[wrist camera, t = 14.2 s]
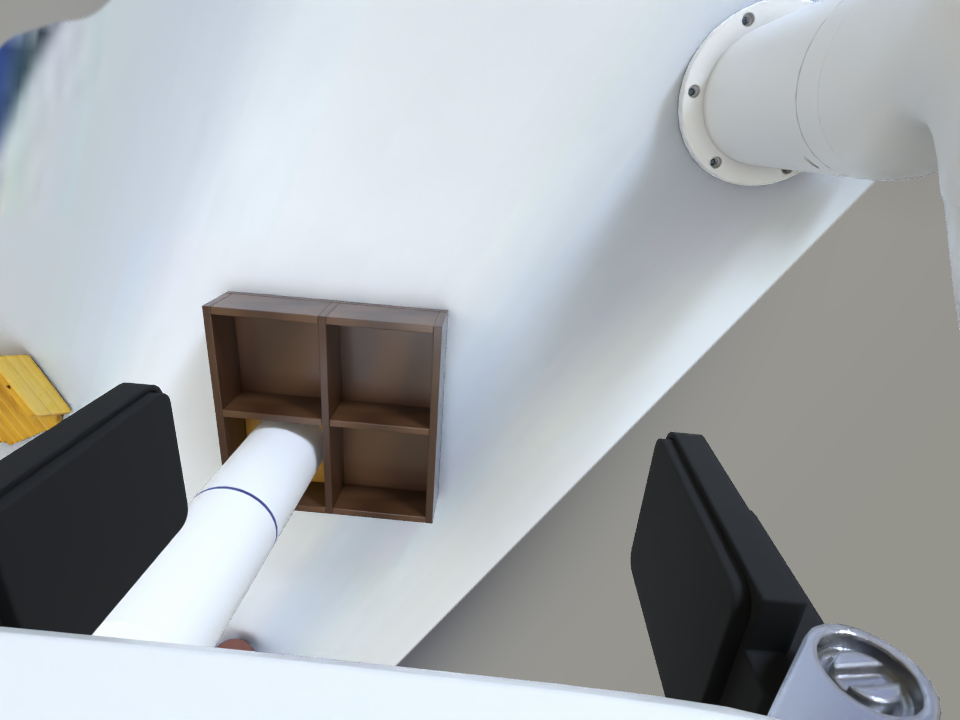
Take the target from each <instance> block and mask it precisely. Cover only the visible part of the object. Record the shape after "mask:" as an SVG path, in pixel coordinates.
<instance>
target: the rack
mask: <svg viewBox="0 0 960 720" xmlns="http://www.w3.org/2000/svg"><path fill="white" fill-rule="evenodd" d="M202 309H203V317H204V325H205V333H206V341H207V349H208V357H209V365H210V373H211V381H212V389H213V397H214V405H215V413H216V421H217V428H218V436H219V444H220V452H221V460H222V465H223V464H224V463H225V462H226V461H227V460H228V459H229V457H230V456H231V455H232V454H233V453H234V452H235V451H236V450H237V448H238V447H239V446H240V445H241V444H242V443H243V441H244V440H245V439H246V438H247V437H248V436H249V435H250V433H251V432H252V431H253V430H254V429H255V428H256V426H257V425H258V424H259V423H260V422H261V421H262V420H266V421H277V422H287V423H298V424H309V425H319V426H320V428H321V429H322V436H323V461H322V463H321V464H320V466H319V468H318V470H317V471H316V473H315V475H314V477H313V478H312V480H311V482H310V483H309V485H308V487H307V489H306V490H305V492H304V494H303V496H302V497H301V499H300V501H299V503H298V504H297V506H296V508H295V509H294V510H297V511H307V512H318V513H329V514H340V515H350V516H361V517H371V518H382V519H392V520H403V521H413V522H423V523H432V522H433V518H434V513H435V508H436V503H437V497H438V488H439V470H440V451H441V433H442V414H443V396H444V378H445V359H446V341H447V322H448V311H447V310H435V309H424V308H412V307H401V306H390V305H378V304H367V303H355V302H344V301H332V300H321V299H310V298H298V297H287V296H275V295H264V294H252V293H241V292H230V291H228V292H226V293H225V294H223V295H221V296H219V297H217V298H216V299H214V300H212V301H210V302H208V303H207V304H205V305H203V306H202Z"/></svg>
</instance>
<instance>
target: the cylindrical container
mask: <svg viewBox="0 0 960 720" xmlns="http://www.w3.org/2000/svg"><path fill="white" fill-rule="evenodd" d="M322 461H323V436H322V429H321V428H320V426H319V425H309V424H298V423H287V422H277V421H266V420H262V421H261V422H260V423H259V424H258V425H257V426H256V428H255V429H254V430H253V431H252V432H251V433H250V435H249V436H248V437H247V438H246V439H245V440H244V441H243V443H242V444H241V445H240V446H239V447H238V448H237V450H236V451H235V452H234V453H233V454H232V455H231V456H230V457H229V459H228V460H227V461H226V462H225V463H224V464H223V465H222V467H221V468H220V469H219V470H218V471H217V472H216V473H215V474H214V476H213V477H212V478H211V479H210V480H209V481H208V482H207V484H206V485H205V486H204V487H203V488H202V489H201V490H200V492H199V493H198V494H197V495H196V496H195V497H194V498H193V499H192V501H191V502H190V503H189V504H188V515H187V519H186V522H185V524H184V526H183V527H182V528H181V530H180V531H179V532H178V533H177V534H176V536H175V537H174V538H173V539H172V540H171V542H170V543H169V544H168V545H167V546H166V547H165V549H164V550H163V551H162V552H161V553H160V555H159V556H158V557H157V558H156V559H155V561H154V562H153V563H152V564H151V565H150V566H149V568H148V569H147V570H146V571H145V572H144V574H143V575H142V576H141V577H140V578H139V580H138V581H137V582H136V583H135V584H134V586H133V587H132V588H131V589H130V590H129V591H128V593H127V594H126V595H125V596H124V597H123V599H122V600H121V601H120V602H119V603H118V605H117V606H116V607H115V608H114V609H113V610H112V612H111V613H110V614H109V615H108V616H107V618H106V619H105V620H104V621H103V622H102V624H101V625H100V626H99V627H98V628H97V629H96V631H95V632H94V633H93V634H92V635H94V636H104V637H115V638H125V639H135V640H145V641H156V642H166V643H176V644H186V645H196V646H206V647H215V646H216V644H217V642H218V640H219V639H220V637H221V635H222V634H223V632H224V630H225V628H226V627H227V625H228V623H229V622H230V620H231V618H232V616H233V615H234V613H235V611H236V609H237V608H238V606H239V604H240V603H241V601H242V599H243V597H244V596H245V594H246V592H247V591H248V589H249V587H250V585H251V584H252V582H253V580H254V578H255V577H256V575H257V573H258V572H259V570H260V568H261V566H262V565H263V563H264V561H265V559H266V558H267V556H268V554H269V553H270V551H271V549H272V547H273V546H274V544H275V542H276V541H277V539H278V537H279V535H280V534H281V532H282V530H283V528H284V527H285V525H286V523H287V522H288V520H289V518H290V516H291V515H292V513H293V511H294V509H295V508H296V506H297V504H298V503H299V501H300V499H301V497H302V496H303V494H304V492H305V490H306V489H307V487H308V485H309V483H310V482H311V480H312V478H313V477H314V475H315V473H316V471H317V470H318V468H319V466H320V464H321V463H322Z"/></svg>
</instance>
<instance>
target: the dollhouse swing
mask: <svg viewBox="0 0 960 720" xmlns="http://www.w3.org/2000/svg"><path fill="white" fill-rule="evenodd" d="M70 412H71V410H70V408H69V407H68V405H67V404H66V403H65V401H64V400H63V399H62V397H61V396H60V395H59V393H58V392H57V391H56V390H55V388H54V387H53V386H52V384H51V383H50V382H49V380H48V379H47V378H46V376H45V375H44V374H43V373H42V371H41V370H40V368H39V367H38V366H37V365H36V364H35V362H34V361H33V360H32V358H31V357H30V356H29V355H7V356H0V443H1V442H5V443H8V444H9V445H12V444H14V443H16V442H19V441H22V440H24V439H26V438H29V437H31V436H34V435H36V434H39V433H41V432H44V431H46V430H48V429H50V428H52V427H53V426H55V425H57V424H58V423H60V422H61V421H62V415H65V414H68V413H70Z"/></svg>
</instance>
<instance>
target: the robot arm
mask: <svg viewBox="0 0 960 720" xmlns="http://www.w3.org/2000/svg"><path fill="white" fill-rule="evenodd" d="M743 18H745V19H746V20H747V23H746V25H743V24H742V19H743ZM690 88H691V89H693V90H694V93H693V95H692V96H690V95H689V94H688V91H689V89H690ZM678 117H679V126H680V131H681V134H682V137H683V140H684V144H685V146H686V147H687V149H688V151H689V153H690V154H691V156H692V158H693V159H694V160H695V161H696V162H697V163H698V164H699V166H700V167H701V168H702V169H704V170H705V171H706V172H708V173H709V174H711V175H712V176H714V177H716V178H718V179H720V180H723V181H725V182H728V183H733V184H737V185H745V186H761V185H769V184H773V183H776V182H780V181H783V180H786V179H788V178H790V177H792V176H794V175H796V174H798V173H800V172H809V173H817V174H825V175H833V176H841V177H848V178H856V179H867V180H876V181H898V180H906V179H912V178H917V177H922V176H926V175H929V174H932V173H935V172H939V181H940V190H941V196H942V198H943V199H944V205H945V216H946V226H947V235H948V244H949V255H950V264H951V274H952V283H953V290H954V298H955V306H956V314H957V319H958V324H959V329H960V0H820V1H818V2H816V3H814V2H812V1H810V0H765V1H761V2H757V3H755V4H753V5H751V6H749V7H746V8H744V9H742V10H740V11H738V12H737V13H735V14H734V15H732V16H730V17H729V18H727V19H726V20H725V21H724V22H722V23H721V24H720V25H719V26H718V27H716V28H715V29H714V30H713V31H712V32H711V33H710V34H709V36H708V37H707V38H706V39H705V40H704V41H703V42H702V44H701V45H700V46H699V48H698V50H697V51H696V53H695V54H694V56H693V58H692V59H691V61H690V63H689V66H688V68H687V70H686V73H685V75H684V78H683V81H682V86H681V90H680V94H679V105H678ZM712 159H715V163H714V165H711V164H710V161H711V160H712ZM782 169H784V170H783V171H782ZM187 515H188V504H187V498H186V492H185V486H184V480H183V474H182V468H181V462H180V456H179V450H178V444H177V438H176V432H175V426H174V420H173V414H172V408H171V402H170V399H169V397H168V395H166V394H164V393H162V391H161V389H160V388H159V387H158V386H156V385H147V384H135V383H122V384H120V385H118V386H116V387H115V388H113V389H112V390H110V391H108V392H107V393H105V394H104V395H102V396H101V397H99V398H97V399H96V400H94V401H93V402H91V403H90V404H88V405H86V406H85V407H83V408H82V409H80V410H79V411H77V412H75V413H74V414H72V415H71V416H69V417H68V418H66V419H64V420H63V421H61V422H60V423H58V424H57V425H55V426H53V427H52V428H50V429H49V430H47V431H46V432H44V433H42V434H41V435H39V436H38V437H36V438H35V439H33V440H31V441H30V442H28V443H27V444H25V445H24V446H22V447H20V448H19V449H17V450H16V451H14V452H13V453H11V454H9V455H8V456H6V457H5V458H3V459H2V460H0V720H940V717H941V708H940V699H939V697H938V695H937V693H936V691H935V689H934V687H933V685H932V683H931V681H930V680H929V679H928V678H927V677H926V675H925V674H924V673H923V672H922V671H921V670H920V668H919V667H918V666H917V665H916V664H915V663H914V662H913V661H911V660H910V659H909V658H908V657H907V656H905V655H904V654H903V653H902V652H901V651H900V650H898V649H897V648H895V647H893V646H892V645H890V644H888V643H887V642H885V641H884V640H882V639H880V638H879V637H877V636H874V635H872V634H870V633H867V632H865V631H863V630H860V629H858V628H854V627H850V626H846V625H842V624H824V623H823V621H822V619H821V618H820V616H819V614H818V613H817V611H816V610H815V608H814V607H813V605H812V603H811V602H810V600H809V599H808V597H807V595H806V594H805V593H804V591H803V589H802V588H801V586H800V584H799V583H798V581H797V580H796V578H795V576H794V575H793V573H792V572H791V570H790V569H789V567H788V565H787V564H786V562H785V561H784V559H783V557H782V556H781V554H780V553H779V551H778V550H777V548H776V546H775V545H774V544H773V542H772V540H771V539H770V537H769V535H768V534H767V532H766V531H765V529H764V527H763V526H762V524H761V523H760V521H759V520H758V518H757V516H756V515H755V514H754V513H753V512H752V511H751V510H749V508H748V507H747V505H746V504H745V502H744V501H743V499H742V497H741V496H740V494H739V492H738V491H737V489H736V488H735V486H734V485H733V483H732V481H731V480H730V478H729V476H728V475H727V473H726V472H725V470H724V469H723V467H722V465H721V464H720V462H719V461H718V459H717V457H716V456H715V454H714V452H713V451H712V449H711V448H710V446H709V444H708V443H707V441H706V440H705V438H704V437H703V436H702V435H697V434H686V433H675V432H670V433H669V434H668V435H667V437H666V439H658V440H657V442H656V445H655V448H654V453H653V457H652V462H651V466H650V471H649V475H648V479H647V484H646V488H645V493H644V497H643V502H642V506H641V510H640V515H639V519H638V524H637V528H636V532H635V537H634V541H633V546H632V551H631V570H632V574H633V578H634V582H635V585H636V589H637V593H638V596H639V600H640V604H641V608H642V611H643V615H644V619H645V622H646V626H647V630H648V634H649V637H650V641H651V645H652V649H653V652H654V656H655V660H656V664H657V667H658V671H659V675H660V679H661V682H662V686H663V690H664V694H665V697H659V696H652V695H645V694H638V693H630V692H621V691H612V690H604V689H594V688H585V687H577V686H570V685H562V684H554V683H545V682H536V681H527V680H517V679H509V678H499V677H489V676H480V675H471V674H463V673H453V672H444V671H435V670H426V669H417V668H408V667H398V666H389V665H380V664H371V663H361V662H351V661H342V660H332V659H323V658H313V657H303V656H294V655H284V654H274V653H265V652H255V651H245V650H235V649H225V648H216V647H206V646H196V645H186V644H176V643H166V642H156V641H145V640H135V639H125V638H115V637H104V636H94V635H92V634H93V633H94V632H95V631H96V629H97V628H98V627H99V626H100V625H101V624H102V622H103V621H104V620H105V619H106V618H107V616H108V615H109V614H110V613H111V612H112V610H113V609H114V608H115V607H116V606H117V605H118V603H119V602H120V601H121V600H122V599H123V597H124V596H125V595H126V594H127V593H128V591H129V590H130V589H131V588H132V587H133V586H134V584H135V583H136V582H137V581H138V580H139V578H140V577H141V576H142V575H143V574H144V572H145V571H146V570H147V569H148V568H149V566H150V565H151V564H152V563H153V562H154V561H155V559H156V558H157V557H158V556H159V555H160V553H161V552H162V551H163V550H164V549H165V547H166V546H167V545H168V544H169V543H170V542H171V540H172V539H173V538H174V537H175V536H176V534H177V533H178V532H179V531H180V530H181V528H182V527H183V526H184V524H185V522H186V519H187Z"/></svg>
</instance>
